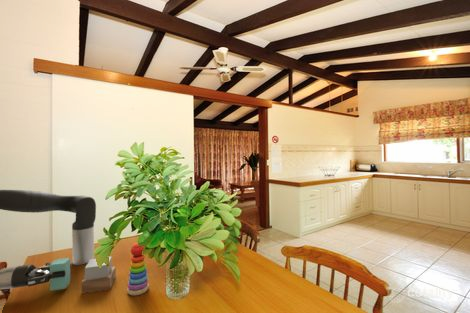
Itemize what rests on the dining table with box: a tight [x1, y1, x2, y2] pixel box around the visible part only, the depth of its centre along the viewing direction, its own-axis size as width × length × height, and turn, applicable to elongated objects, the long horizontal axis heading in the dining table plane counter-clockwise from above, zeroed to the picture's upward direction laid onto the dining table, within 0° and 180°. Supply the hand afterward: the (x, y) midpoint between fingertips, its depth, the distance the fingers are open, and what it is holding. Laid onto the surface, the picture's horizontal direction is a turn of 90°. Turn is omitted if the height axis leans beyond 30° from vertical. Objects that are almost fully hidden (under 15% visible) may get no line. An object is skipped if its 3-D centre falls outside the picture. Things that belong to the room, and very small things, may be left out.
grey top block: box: [84, 256, 112, 280], centre depth 95 cm, size 8×8×5 cm
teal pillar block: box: [49, 257, 71, 291], centre depth 91 cm, size 5×5×10 cm
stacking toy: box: [126, 242, 150, 296], centre depth 91 cm, size 8×8×19 cm
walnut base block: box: [81, 265, 117, 294], centre depth 95 cm, size 10×10×5 cm
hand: (68, 269), depth 92 cm, fingers closed on teal pillar block, 5 cm apart
